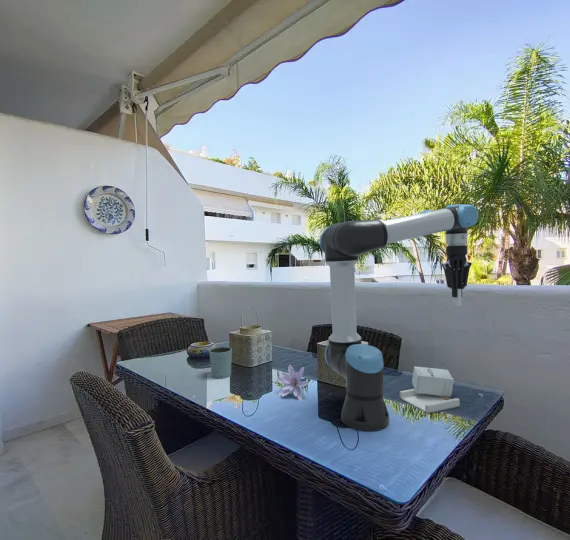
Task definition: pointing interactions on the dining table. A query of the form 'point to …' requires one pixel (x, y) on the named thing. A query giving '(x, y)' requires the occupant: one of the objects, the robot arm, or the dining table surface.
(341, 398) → the dining table surface
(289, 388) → the water lily
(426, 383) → the supplement box
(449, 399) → the stop batten
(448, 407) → the cradle
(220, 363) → the grey-green cup
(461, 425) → the dining table surface
